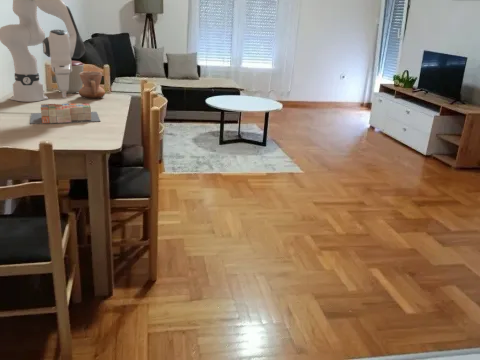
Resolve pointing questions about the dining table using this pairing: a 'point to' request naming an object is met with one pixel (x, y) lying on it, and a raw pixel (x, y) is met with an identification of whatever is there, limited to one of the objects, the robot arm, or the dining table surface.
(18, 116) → the dining table surface
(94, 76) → the ceramic jug
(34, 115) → the charcoal mat
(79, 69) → the canister
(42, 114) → the stack of blocks
